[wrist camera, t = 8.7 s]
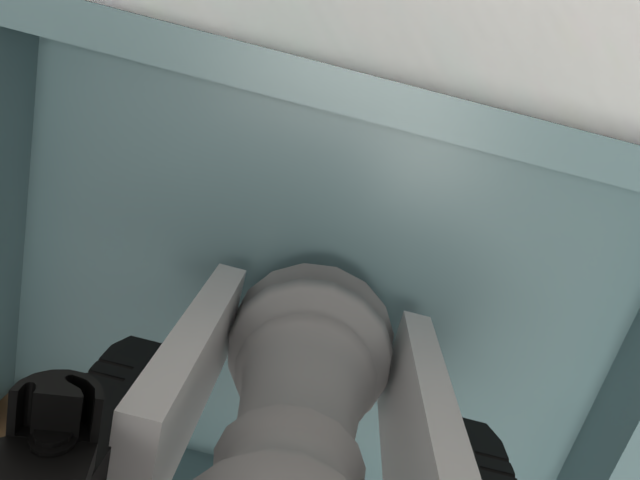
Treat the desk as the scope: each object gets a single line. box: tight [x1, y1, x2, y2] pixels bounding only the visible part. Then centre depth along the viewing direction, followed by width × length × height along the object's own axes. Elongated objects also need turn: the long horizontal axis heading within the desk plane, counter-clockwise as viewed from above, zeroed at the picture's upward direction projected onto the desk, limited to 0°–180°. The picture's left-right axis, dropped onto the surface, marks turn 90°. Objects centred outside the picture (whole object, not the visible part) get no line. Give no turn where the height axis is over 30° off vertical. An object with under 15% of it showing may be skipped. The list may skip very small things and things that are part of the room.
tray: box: [0, 0, 640, 480], centre depth 15 cm, size 20×14×3 cm
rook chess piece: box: [193, 263, 394, 480], centre depth 11 cm, size 4×4×8 cm
